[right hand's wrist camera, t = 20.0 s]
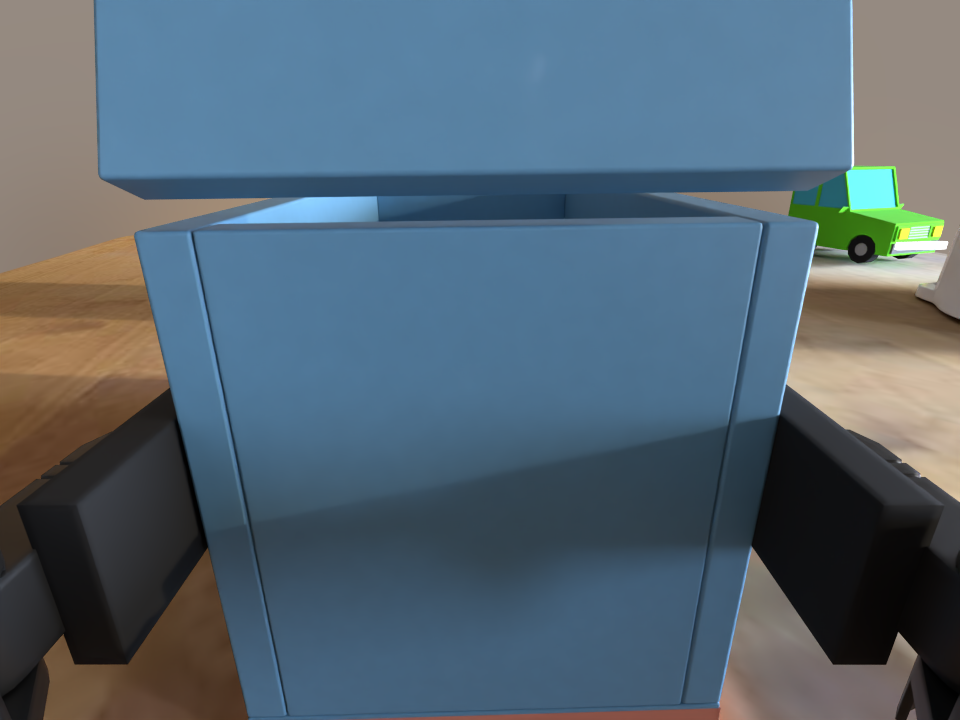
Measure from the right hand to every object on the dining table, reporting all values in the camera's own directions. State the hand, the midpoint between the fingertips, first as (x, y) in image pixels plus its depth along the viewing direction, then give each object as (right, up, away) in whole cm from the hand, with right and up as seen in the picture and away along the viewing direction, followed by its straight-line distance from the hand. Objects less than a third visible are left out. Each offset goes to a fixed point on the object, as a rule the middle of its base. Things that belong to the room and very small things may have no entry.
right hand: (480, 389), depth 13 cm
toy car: (+45, +13, +52) cm, 70 cm away
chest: (0, -4, +7) cm, 8 cm away
